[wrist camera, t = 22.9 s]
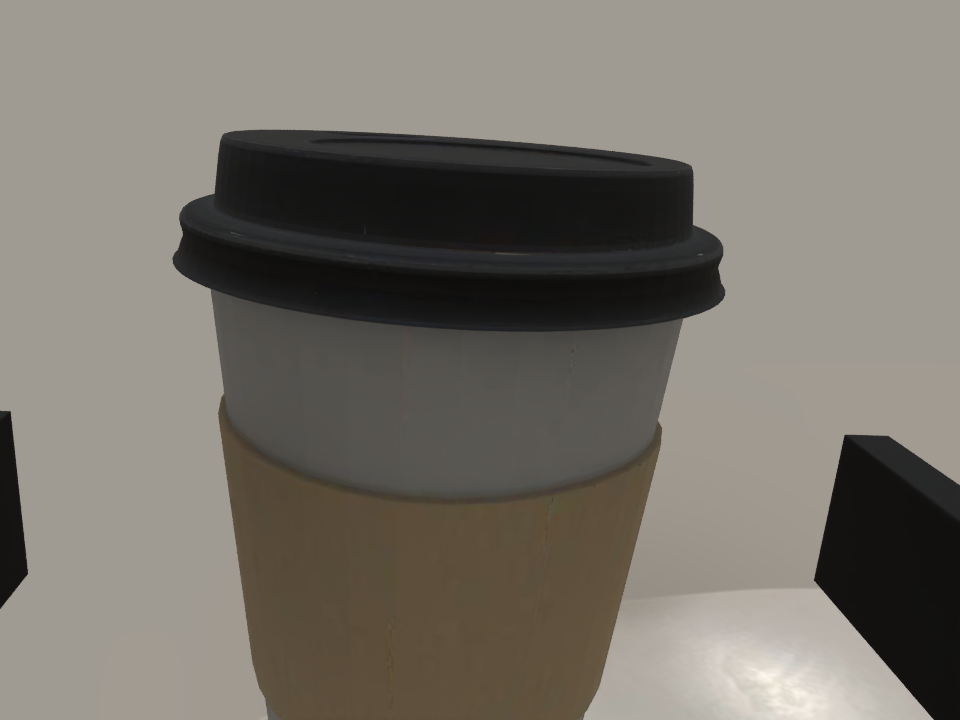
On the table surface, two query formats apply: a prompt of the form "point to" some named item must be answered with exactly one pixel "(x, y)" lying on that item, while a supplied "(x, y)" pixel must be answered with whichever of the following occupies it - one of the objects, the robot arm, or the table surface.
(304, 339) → the coffee cup
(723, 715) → the table surface
